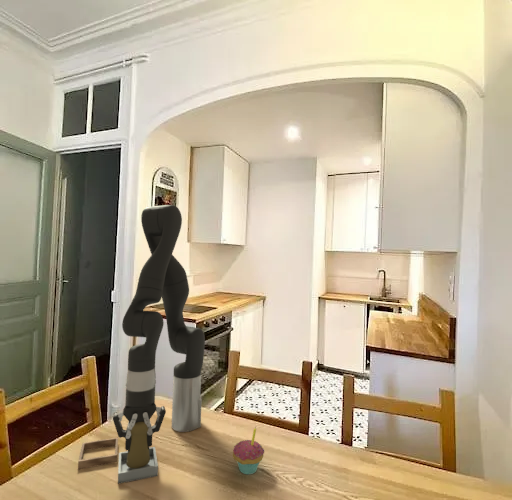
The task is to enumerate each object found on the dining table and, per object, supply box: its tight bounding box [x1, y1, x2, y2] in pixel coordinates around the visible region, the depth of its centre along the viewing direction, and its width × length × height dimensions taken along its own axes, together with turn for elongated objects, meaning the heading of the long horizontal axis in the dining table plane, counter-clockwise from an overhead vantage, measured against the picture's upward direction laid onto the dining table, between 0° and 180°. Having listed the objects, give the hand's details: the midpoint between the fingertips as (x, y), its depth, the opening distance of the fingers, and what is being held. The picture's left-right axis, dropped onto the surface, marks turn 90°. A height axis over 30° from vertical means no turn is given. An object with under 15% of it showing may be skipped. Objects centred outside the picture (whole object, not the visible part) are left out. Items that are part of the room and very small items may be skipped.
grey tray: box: [117, 446, 159, 485], centre depth 90 cm, size 10×10×2 cm
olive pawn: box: [126, 422, 150, 468], centre depth 90 cm, size 6×6×11 cm
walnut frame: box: [77, 436, 119, 470], centre depth 95 cm, size 10×10×2 cm
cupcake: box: [232, 426, 265, 475], centre depth 92 cm, size 9×8×12 cm
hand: (138, 448), depth 90 cm, fingers closed on olive pawn, 4 cm apart
